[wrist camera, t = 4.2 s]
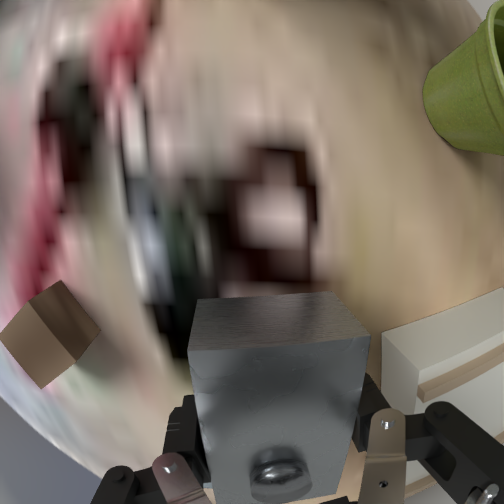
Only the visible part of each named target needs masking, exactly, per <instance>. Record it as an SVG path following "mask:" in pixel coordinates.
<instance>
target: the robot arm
mask: <svg viewBox="0 0 504 504" xmlns="http://www.w3.org/2000/svg"><path fill="white" fill-rule="evenodd" d="M351 438H352V440H353V442H354V444H355V446H356V448H357V450H358V452H362V451H365V450H366V452H367V456H366V459H365V465H364V472H363V477H362V483H361V489H360V494H359V499H358V501H352V502H349V500H348V497H347V496H344V497H341V498H337V499H334V500H330V501H326V502H323V503H319V504H404V497H405V483H406V465H407V461H414V460H417V461H418V462H419V463H420V464H421V465H422V466H423V467H424V468H425V469H426V470H427V472H428V473H429V474H430V475H431V476H432V477H433V478H434V479H435V480H436V481H437V482H438V484H439V485H440V486H441V487H442V488H443V489H444V490H445V491H446V492H447V493H448V494H449V495H450V496H451V498H452V499H453V500H454V501H455V502H456V503H457V504H504V446H503V445H502V444H501V443H500V442H498V441H497V440H496V439H495V438H493V437H492V436H491V435H490V434H489V433H487V432H486V431H485V430H484V429H482V428H481V427H480V426H479V425H477V424H476V423H475V422H474V421H473V420H471V419H470V418H469V417H468V416H466V415H465V414H464V413H463V412H461V411H460V410H459V409H458V408H456V407H455V406H454V405H453V404H451V403H449V402H446V401H437V402H434V403H432V404H430V405H429V406H428V407H427V408H426V410H425V413H420V414H413V415H404V414H403V413H402V412H401V411H399V410H397V409H393V408H391V406H390V405H389V403H388V402H387V400H386V399H385V397H384V396H383V394H382V393H381V392H380V390H379V389H378V387H377V386H376V384H375V383H374V381H373V380H372V378H371V377H370V376H369V375H368V374H367V373H365V376H364V382H363V387H362V392H361V397H360V402H359V407H358V410H357V416H356V420H355V425H354V429H353V433H352V437H351ZM203 483H211V475H210V473H209V469H208V465H207V460H206V455H205V450H204V445H203V440H202V435H201V430H200V425H199V419H198V414H197V408H196V402H195V397H194V395H186V396H184V399H183V405H182V407H175V408H174V410H173V411H172V412H171V414H170V415H169V420H168V426H167V431H166V436H165V442H164V447H163V453H162V455H160V456H159V457H157V458H156V459H155V460H154V462H153V464H152V467H150V468H147V469H143V470H139V471H135V472H133V470H132V469H131V468H129V467H127V466H116V467H113V468H111V469H109V470H108V471H107V472H106V474H105V475H104V477H103V479H102V481H101V483H100V485H99V487H98V489H97V491H96V493H95V495H94V497H93V499H92V501H91V503H90V504H212V503H211V501H210V500H209V498H208V497H207V495H206V494H205V492H204V490H203Z"/></svg>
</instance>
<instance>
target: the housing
mask: <svg viewBox="0 0 504 504" xmlns="http://www.w3.org/2000/svg"><path fill="white" fill-rule="evenodd" d="M370 339H371V335H370V333H369V332H368V331H367V330H366V329H365V328H364V327H363V325H362V324H361V323H360V322H359V321H358V320H357V319H356V318H355V316H354V315H353V314H352V313H351V312H350V311H349V310H348V308H347V307H346V306H345V305H344V304H343V303H342V302H341V301H340V299H339V298H338V297H337V296H336V295H335V294H334V293H333V292H332V291H328V292H315V293H302V294H288V295H273V296H256V297H238V298H217V299H198V301H197V306H196V311H195V315H194V320H193V325H192V330H191V335H190V340H189V345H188V350H187V351H188V358H189V365H190V372H191V378H192V384H193V391H194V397H195V402H196V408H197V414H198V419H199V425H200V430H201V435H202V440H203V445H204V450H205V455H206V460H207V465H208V469H209V473H210V475H211V483H212V487H213V491H214V496H215V500H216V504H282V503H288V502H291V501H298V500H304V499H310V498H316V497H321V496H327V495H332V494H336V491H337V488H338V484H339V481H340V478H341V474H342V471H343V467H344V464H345V460H346V457H347V453H348V449H349V445H350V441H351V437H352V433H353V429H354V425H355V420H356V416H357V410H358V407H359V402H360V397H361V392H362V387H363V382H364V376H365V371H366V365H367V359H368V353H369V346H370Z"/></svg>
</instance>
